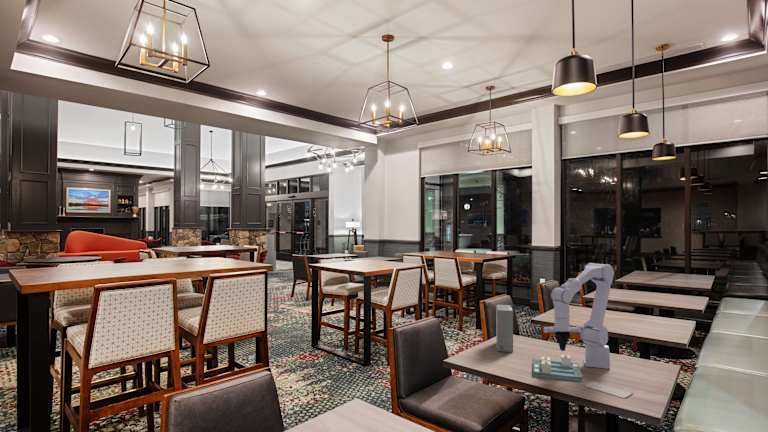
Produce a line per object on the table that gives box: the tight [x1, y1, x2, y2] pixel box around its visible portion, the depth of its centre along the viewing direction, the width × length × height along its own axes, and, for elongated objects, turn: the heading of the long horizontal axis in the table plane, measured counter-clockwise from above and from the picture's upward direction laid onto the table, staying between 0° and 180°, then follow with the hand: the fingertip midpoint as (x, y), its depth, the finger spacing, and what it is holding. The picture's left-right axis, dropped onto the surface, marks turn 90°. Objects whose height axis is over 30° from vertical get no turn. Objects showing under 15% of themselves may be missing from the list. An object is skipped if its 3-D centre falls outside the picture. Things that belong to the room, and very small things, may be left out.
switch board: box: [532, 358, 584, 383], centre depth 173 cm, size 18×17×2 cm
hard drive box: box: [495, 304, 514, 353], centre depth 207 cm, size 16×8×20 cm, turn 167°
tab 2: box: [542, 360, 551, 374], centre depth 169 cm, size 4×4×5 cm
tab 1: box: [540, 355, 552, 366], centre depth 174 cm, size 4×4×5 cm
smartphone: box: [583, 381, 634, 400], centre depth 154 cm, size 7×1×15 cm
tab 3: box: [560, 353, 572, 367], centre depth 177 cm, size 4×4×5 cm
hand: (562, 349), depth 172 cm, fingers closed
